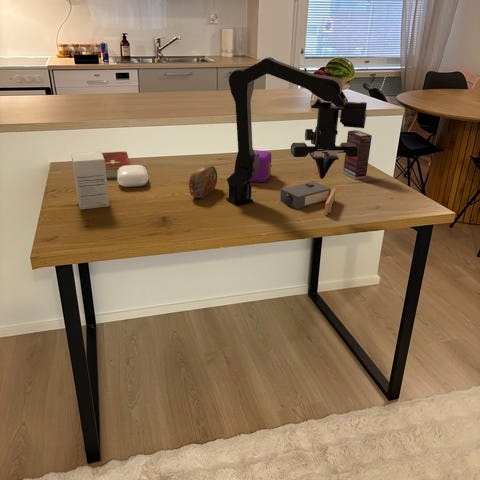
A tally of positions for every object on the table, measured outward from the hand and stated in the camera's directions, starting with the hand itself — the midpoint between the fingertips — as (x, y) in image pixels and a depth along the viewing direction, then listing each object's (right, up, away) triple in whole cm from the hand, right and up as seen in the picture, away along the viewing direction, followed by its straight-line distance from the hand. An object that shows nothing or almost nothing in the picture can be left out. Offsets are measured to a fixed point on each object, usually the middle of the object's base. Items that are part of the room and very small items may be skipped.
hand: (321, 178), depth 140 cm
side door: (+4, -8, +7) cm, 12 cm away
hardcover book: (-71, +8, +38) cm, 81 cm away
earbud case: (-61, +1, +25) cm, 66 cm away
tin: (-36, -3, +17) cm, 40 cm away
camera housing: (-3, -5, +13) cm, 14 cm away
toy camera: (-18, +4, +33) cm, 38 cm away
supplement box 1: (-69, -7, +7) cm, 70 cm away
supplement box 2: (+18, +6, +37) cm, 42 cm away
